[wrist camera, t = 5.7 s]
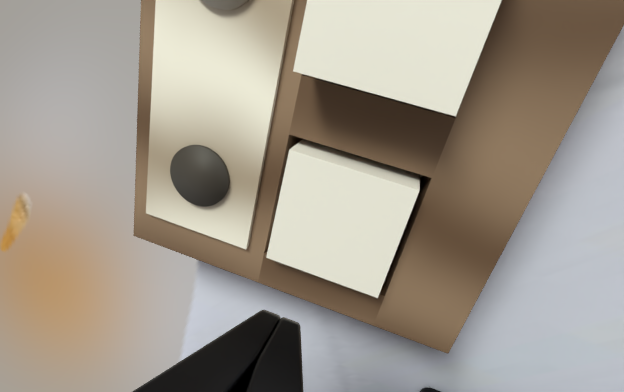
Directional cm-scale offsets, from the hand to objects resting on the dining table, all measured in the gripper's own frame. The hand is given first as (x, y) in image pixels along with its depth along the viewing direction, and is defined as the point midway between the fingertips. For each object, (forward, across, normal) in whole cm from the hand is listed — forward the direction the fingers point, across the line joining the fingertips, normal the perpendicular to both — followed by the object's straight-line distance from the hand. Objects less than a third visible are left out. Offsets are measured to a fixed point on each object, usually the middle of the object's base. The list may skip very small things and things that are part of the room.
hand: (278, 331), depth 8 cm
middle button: (+7, 0, -7) cm, 10 cm away
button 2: (+8, 0, 0) cm, 9 cm away
